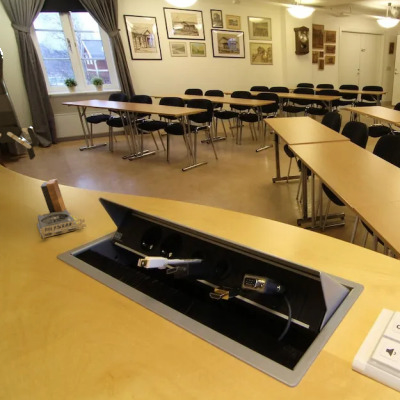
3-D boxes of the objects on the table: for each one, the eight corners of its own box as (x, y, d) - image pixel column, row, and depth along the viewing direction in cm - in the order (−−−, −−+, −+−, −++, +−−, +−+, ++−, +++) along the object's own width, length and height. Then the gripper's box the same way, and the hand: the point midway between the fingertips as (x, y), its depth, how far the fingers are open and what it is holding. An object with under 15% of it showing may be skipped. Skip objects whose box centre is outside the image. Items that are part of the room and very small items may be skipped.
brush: (51, 218, 117) (39, 184, 112) (54, 212, 121) (43, 180, 117) (63, 216, 118) (53, 183, 114) (66, 210, 123) (56, 178, 118)
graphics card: (84, 219, 109) (38, 229, 101) (87, 229, 110) (42, 240, 102) (75, 205, 120) (33, 213, 112) (77, 214, 121) (36, 223, 113)
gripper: (29, 107, 105) (44, 155, 111) (-32, 109, 98) (-12, 161, 104) (25, 109, 99) (41, 160, 105) (-40, 112, 92) (-19, 166, 98)
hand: (15, 160), depth 104 cm, fingers open, 8 cm apart
